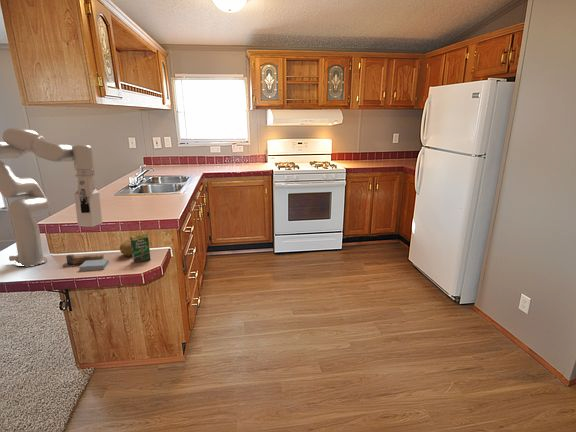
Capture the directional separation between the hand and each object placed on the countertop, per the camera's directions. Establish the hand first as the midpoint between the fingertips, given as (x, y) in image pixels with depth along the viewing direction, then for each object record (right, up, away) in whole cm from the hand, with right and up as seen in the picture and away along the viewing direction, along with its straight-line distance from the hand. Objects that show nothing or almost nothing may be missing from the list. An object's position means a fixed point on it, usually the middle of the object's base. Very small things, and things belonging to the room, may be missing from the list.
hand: (88, 210), depth 154 cm
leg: (-8, -25, +10) cm, 28 cm away
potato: (+8, -23, +24) cm, 34 cm away
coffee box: (+18, -25, +14) cm, 34 cm away
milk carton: (0, -7, +1) cm, 7 cm away
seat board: (0, -27, +5) cm, 27 cm away
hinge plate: (-13, -26, +8) cm, 30 cm away
